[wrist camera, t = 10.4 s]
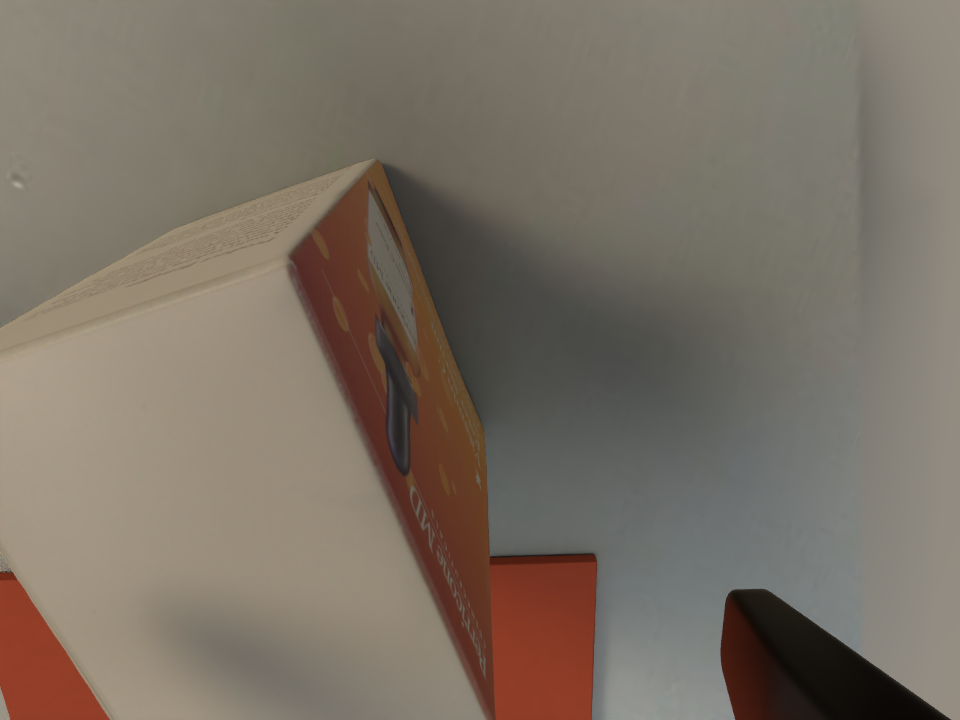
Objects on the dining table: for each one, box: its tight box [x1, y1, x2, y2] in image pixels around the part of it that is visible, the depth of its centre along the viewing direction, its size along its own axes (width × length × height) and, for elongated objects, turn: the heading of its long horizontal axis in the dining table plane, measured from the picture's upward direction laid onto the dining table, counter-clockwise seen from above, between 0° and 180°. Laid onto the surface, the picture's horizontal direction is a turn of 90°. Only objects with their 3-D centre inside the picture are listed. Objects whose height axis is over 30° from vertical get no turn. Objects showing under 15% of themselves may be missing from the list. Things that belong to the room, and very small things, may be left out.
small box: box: [0, 159, 496, 720], centre depth 16 cm, size 8×6×10 cm
